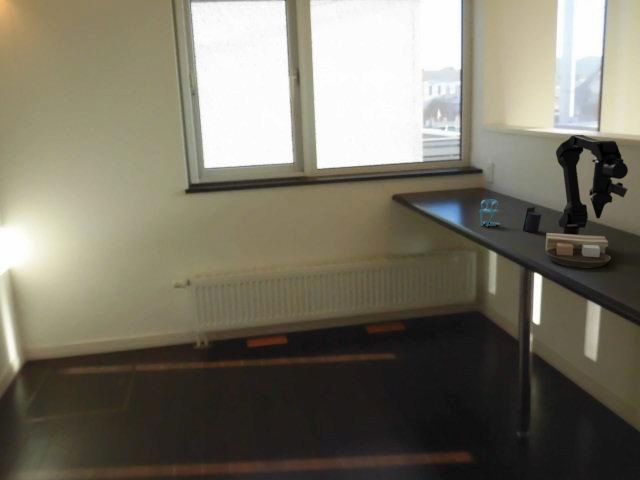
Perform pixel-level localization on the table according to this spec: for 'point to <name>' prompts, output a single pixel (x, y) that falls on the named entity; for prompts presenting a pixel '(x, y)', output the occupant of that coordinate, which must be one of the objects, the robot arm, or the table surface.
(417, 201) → the table surface
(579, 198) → the robot arm
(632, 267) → the table surface
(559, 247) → the tan clay block
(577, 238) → the beige elongated piece
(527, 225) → the speaker
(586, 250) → the light grey block
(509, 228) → the table surface
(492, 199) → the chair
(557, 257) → the plant saucer
